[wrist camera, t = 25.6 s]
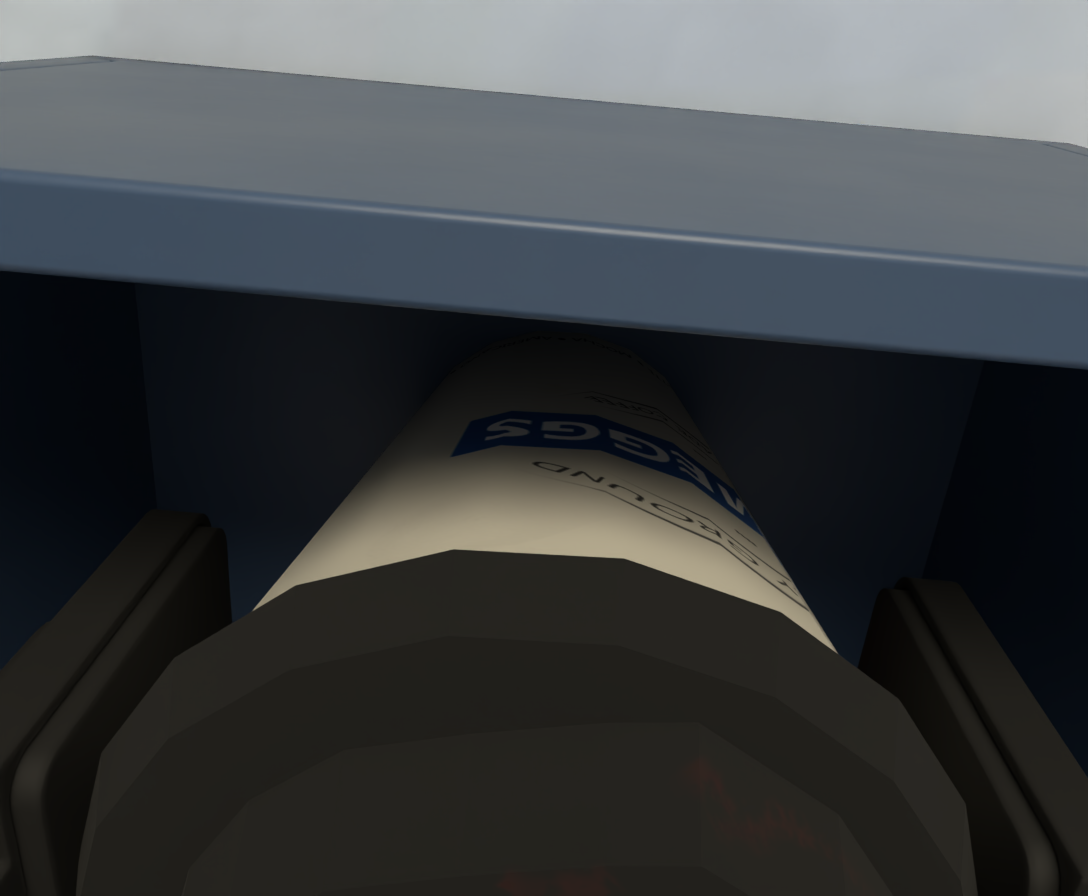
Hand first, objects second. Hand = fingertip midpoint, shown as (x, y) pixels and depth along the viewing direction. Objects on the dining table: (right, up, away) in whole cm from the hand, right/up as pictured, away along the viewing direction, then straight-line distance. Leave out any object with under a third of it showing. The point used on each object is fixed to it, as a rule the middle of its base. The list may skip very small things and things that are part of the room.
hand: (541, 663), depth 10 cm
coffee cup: (0, +2, +5) cm, 5 cm away
